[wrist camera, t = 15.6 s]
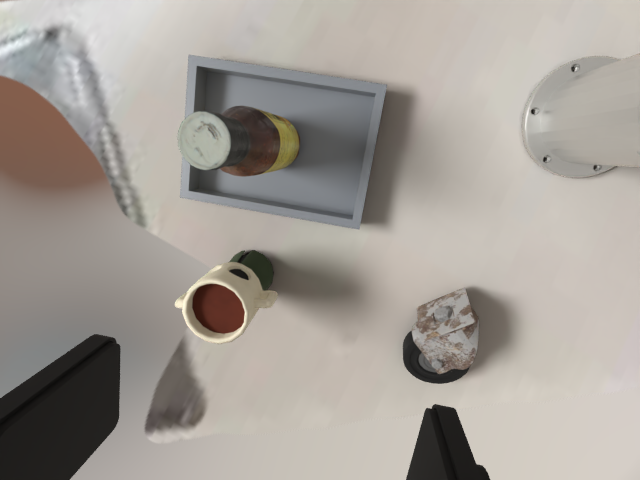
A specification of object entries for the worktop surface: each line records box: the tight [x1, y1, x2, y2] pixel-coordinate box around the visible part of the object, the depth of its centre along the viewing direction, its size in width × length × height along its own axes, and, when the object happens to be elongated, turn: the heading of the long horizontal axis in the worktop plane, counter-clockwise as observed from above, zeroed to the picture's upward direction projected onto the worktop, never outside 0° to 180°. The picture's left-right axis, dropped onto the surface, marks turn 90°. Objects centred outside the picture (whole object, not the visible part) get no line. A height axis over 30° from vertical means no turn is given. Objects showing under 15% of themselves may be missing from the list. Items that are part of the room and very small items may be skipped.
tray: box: [180, 55, 387, 229], centre depth 43 cm, size 22×16×4 cm
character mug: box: [175, 250, 278, 344], centre depth 43 cm, size 11×7×13 cm, turn 93°
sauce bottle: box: [178, 106, 300, 177], centre depth 34 cm, size 6×6×20 cm
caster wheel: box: [403, 288, 479, 384], centre depth 46 cm, size 7×11×10 cm
